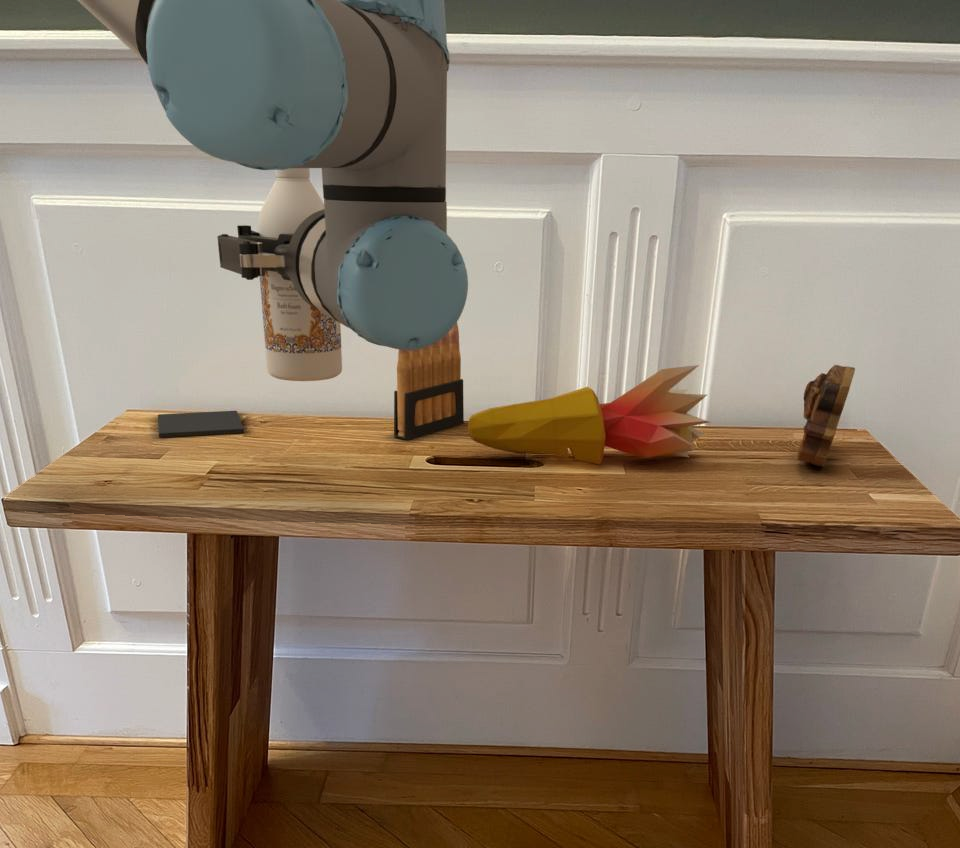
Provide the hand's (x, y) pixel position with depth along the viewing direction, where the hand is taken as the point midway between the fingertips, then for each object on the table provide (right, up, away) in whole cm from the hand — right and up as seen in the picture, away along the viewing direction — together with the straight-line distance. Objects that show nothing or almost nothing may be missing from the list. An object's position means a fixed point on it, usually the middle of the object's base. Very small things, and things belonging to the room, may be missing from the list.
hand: (286, 244), depth 85 cm
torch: (+29, -18, +11) cm, 36 cm away
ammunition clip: (+12, -13, +20) cm, 27 cm away
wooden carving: (+53, -18, +11) cm, 57 cm away
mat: (-14, -12, +19) cm, 27 cm away
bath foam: (+2, -12, +1) cm, 12 cm away
